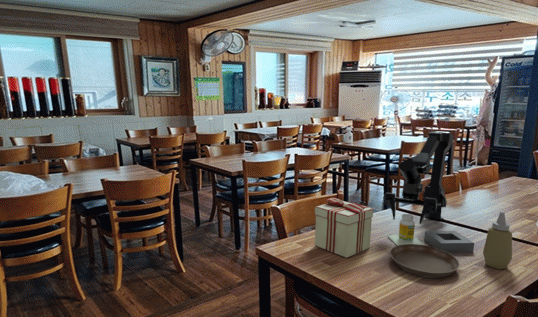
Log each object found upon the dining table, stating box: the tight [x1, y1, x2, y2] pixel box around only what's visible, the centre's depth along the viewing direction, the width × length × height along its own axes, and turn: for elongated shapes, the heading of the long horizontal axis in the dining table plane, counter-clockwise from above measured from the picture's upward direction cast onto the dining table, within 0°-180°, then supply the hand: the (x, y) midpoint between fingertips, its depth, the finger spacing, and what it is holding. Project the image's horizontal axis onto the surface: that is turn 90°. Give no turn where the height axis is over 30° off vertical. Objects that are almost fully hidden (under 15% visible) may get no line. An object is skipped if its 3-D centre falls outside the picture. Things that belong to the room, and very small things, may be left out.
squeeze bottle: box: [482, 211, 513, 270], centre depth 117 cm, size 8×8×18 cm
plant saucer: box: [389, 244, 460, 279], centre depth 118 cm, size 21×21×3 cm
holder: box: [423, 230, 475, 254], centre depth 134 cm, size 12×12×4 cm
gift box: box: [314, 197, 374, 259], centre depth 132 cm, size 17×18×17 cm
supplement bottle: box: [398, 213, 416, 242], centre depth 137 cm, size 5×5×10 cm
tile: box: [387, 234, 425, 246], centre depth 138 cm, size 10×10×1 cm
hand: (406, 221), depth 135 cm, fingers open, 9 cm apart
